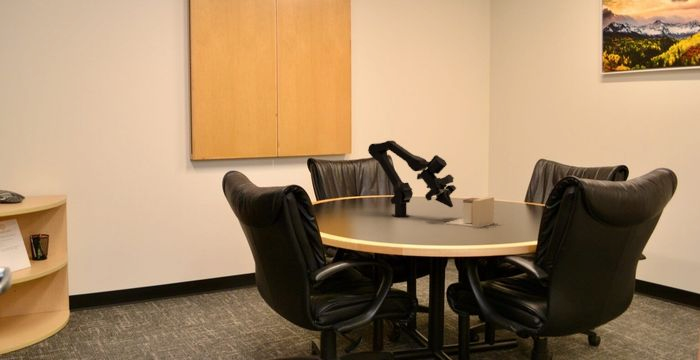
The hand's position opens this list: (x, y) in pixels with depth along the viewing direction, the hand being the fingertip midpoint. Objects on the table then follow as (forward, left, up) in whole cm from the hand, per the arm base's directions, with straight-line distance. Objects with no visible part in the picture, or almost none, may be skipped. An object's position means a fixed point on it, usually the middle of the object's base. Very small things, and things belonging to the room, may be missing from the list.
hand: (452, 206), depth 284 cm
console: (+8, +4, -7) cm, 11 cm away
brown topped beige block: (+9, +5, -7) cm, 12 cm away
